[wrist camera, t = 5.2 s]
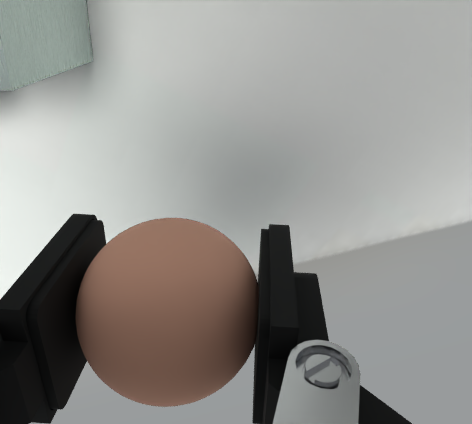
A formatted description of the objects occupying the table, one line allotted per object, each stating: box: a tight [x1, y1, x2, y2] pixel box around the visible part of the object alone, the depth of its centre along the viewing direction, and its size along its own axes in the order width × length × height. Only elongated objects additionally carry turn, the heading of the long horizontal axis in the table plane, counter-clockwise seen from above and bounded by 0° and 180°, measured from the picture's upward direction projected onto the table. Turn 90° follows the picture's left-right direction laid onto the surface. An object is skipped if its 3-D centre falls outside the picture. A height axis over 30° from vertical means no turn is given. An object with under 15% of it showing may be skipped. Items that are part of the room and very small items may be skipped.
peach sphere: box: [75, 218, 259, 407], centre depth 10 cm, size 4×4×4 cm
